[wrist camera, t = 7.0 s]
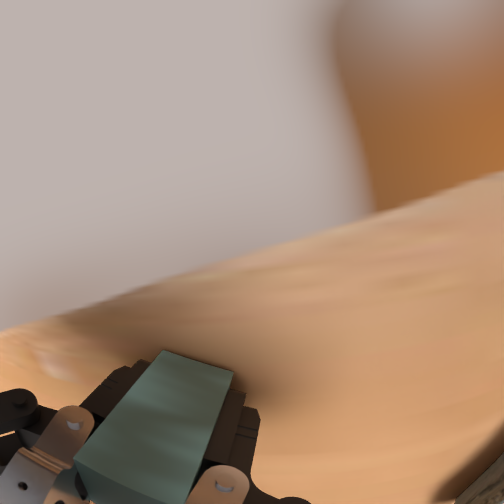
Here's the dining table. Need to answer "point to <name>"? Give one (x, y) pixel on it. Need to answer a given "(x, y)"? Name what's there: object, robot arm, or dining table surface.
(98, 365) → the dining table surface
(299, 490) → the dining table surface
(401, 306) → the dining table surface
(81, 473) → the tethered block
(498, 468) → the stone
